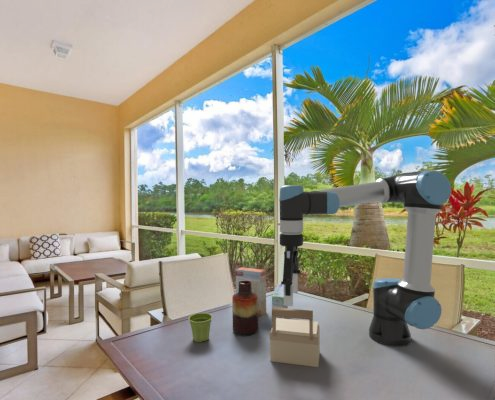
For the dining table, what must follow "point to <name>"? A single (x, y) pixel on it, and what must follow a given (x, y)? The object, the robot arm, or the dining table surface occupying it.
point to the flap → (293, 322)
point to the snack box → (279, 298)
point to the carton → (295, 349)
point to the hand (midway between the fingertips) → (291, 298)
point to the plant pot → (200, 326)
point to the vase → (245, 310)
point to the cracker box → (254, 284)
